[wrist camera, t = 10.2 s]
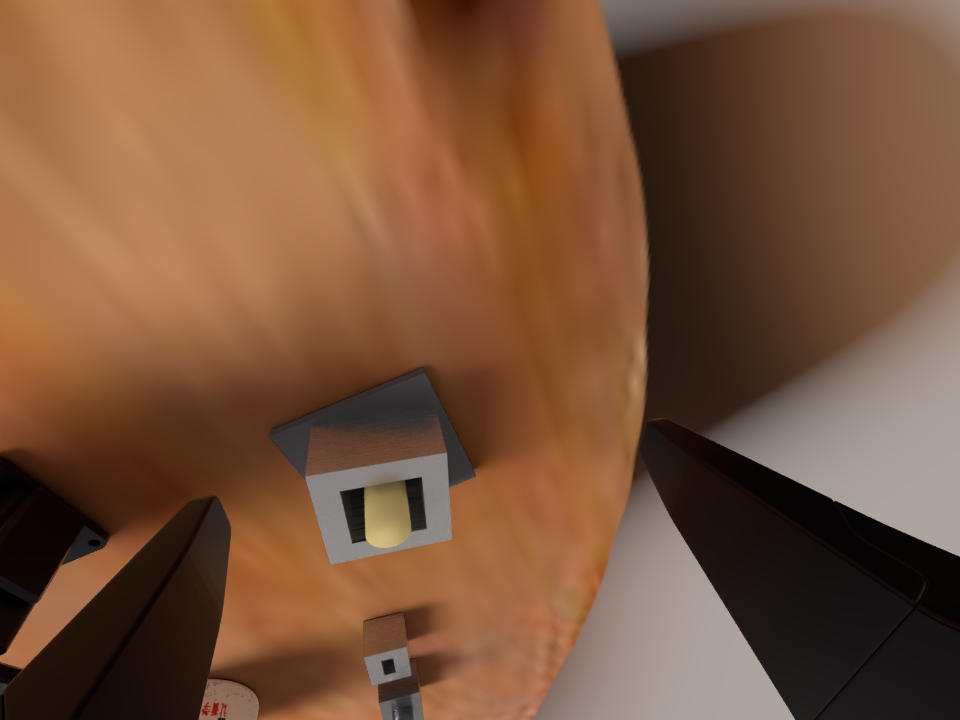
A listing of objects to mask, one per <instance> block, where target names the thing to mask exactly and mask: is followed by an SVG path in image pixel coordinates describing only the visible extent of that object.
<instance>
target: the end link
mask: <svg viewBox="0 0 960 720" xmlns="http://www.w3.org/2000/svg"><path fill="white" fill-rule="evenodd" d="M305 478H306V482H307V485H308V489H309V492H310V496H311V499H312V502H313V506H314V509H315V513H316V516H317V520H318V523H319V526H320V530H321V533H322V537H323V540H324V544H325V547H326V550H327V554H328V557H329V561H330V564H336V563H341V562H346V561H351V560H355V559H360V558H365V557H370V556H375V555H379V554H384V553H389V552H394V551H399V550H403V549H408V548H413V547H418V546H423V545H427V544H432V543H437V542H442V541H447V540H451V539H452V532H451V515H450V498H449V480H448V463H447V451H446V447H445V443H444V439H443V435H442V432H441V428H440V424H439V420H438V416H437V412H436V408H435V406H429V407H423V408H416V409H409V410H402V411H396V412H389V413H382V414H375V415H369V416H362V417H355V418H348V419H342V420H335V421H328V422H321V423H315V424H311V430H310V439H309V447H308V456H307V464H306V473H305ZM401 480H405V483H406V491H407V499H408V506H409V514H410V521H411V529H412V530H411V534H410V536H409V537H408V539H407V540H406V541H404V542H403V543H401V544H399V545H397V546H394V547H389V548H379V547H375V546H373V545H371V544H370V543H369V542H368V541H367V540H366V535H365V501H364V487H368V486H373V485H379V484H384V483H390V482H396V481H401Z"/></svg>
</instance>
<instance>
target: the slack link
mask: <svg viewBox="0 0 960 720" xmlns="http://www.w3.org/2000/svg"><path fill="white" fill-rule="evenodd" d="M363 638H364V660H365V663H366V667H367V671H368V674H369V678H370V681H371V685H372V686H374V685H378V684H382V683H385V682H389V681H393V680H397V679H401V678H404V677H408V676H411V666H410V656H409V646H408V638H407V632H406V626H405V620H404V614H403V612H402V613H398V614H393V615H389V616H385V617H381V618H376V619H372V620H368V621H364V622H363Z"/></svg>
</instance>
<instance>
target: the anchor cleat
mask: <svg viewBox="0 0 960 720" xmlns="http://www.w3.org/2000/svg"><path fill="white" fill-rule="evenodd" d="M410 666H411V676H408V677H404V678H401V679H397V680H393V681H389V682H385V683H382V684H378V694H379V705H380V709H381V713H382V716H383V720H424V716H423V707H422V698H421V689H420V683H419V676H418V670H417V664H416V659H412V660H410Z"/></svg>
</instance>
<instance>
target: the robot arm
mask: <svg viewBox="0 0 960 720" xmlns="http://www.w3.org/2000/svg"><path fill="white" fill-rule="evenodd" d="M640 454H641V458H642V460H643V462H644V464H645V466H646V468H647V470H648V472H649V474H650V476H651V479H652V481H653V483H654V485H655V487H656V489H657V491H658V493H659V495H660V497H661V499H662V501H663V503H664V505H665V507H666V509H667V511H668V513H669V515H670V517H671V518H672V520H673V522H674V524H675V525H676V527H677V529H678V530H679V532H680V533H681V535H682V537H683V538H684V540H685V542H686V543H687V545H688V546H689V548H690V550H691V551H692V553H693V555H694V556H695V558H696V559H697V561H698V563H699V564H700V566H701V567H702V569H703V571H704V572H705V574H706V576H707V577H708V579H709V581H710V582H711V583H712V585H713V587H714V589H715V590H716V592H717V593H718V595H719V597H720V598H721V600H722V601H723V603H724V605H725V606H726V608H727V610H728V611H729V613H730V615H731V616H732V618H733V619H734V621H735V623H736V624H737V626H738V627H739V629H740V631H741V632H742V634H743V636H744V637H745V639H746V641H747V642H748V644H749V645H750V647H751V649H752V650H753V652H754V653H755V655H756V657H757V658H758V660H759V661H760V663H761V665H762V666H763V668H764V670H765V671H766V673H767V675H768V676H769V678H770V679H771V681H772V683H773V684H774V686H775V688H776V689H777V691H778V692H779V694H780V696H781V697H782V699H783V701H784V702H785V704H786V705H787V707H788V708H789V710H790V712H791V713H792V715H793V717H794V718H795V720H960V557H959V556H957V555H954V554H952V553H950V552H947V551H945V550H943V549H940V548H938V547H936V546H933V545H931V544H929V543H926V542H924V541H922V540H919V539H917V538H915V537H913V536H910V535H908V534H906V533H903V532H901V531H899V530H897V529H894V528H892V527H890V526H888V525H885V524H883V523H881V522H879V521H877V520H875V519H873V518H870V517H868V516H866V515H864V514H862V513H860V512H858V511H856V510H854V509H852V508H849V507H847V506H846V505H843V504H841V503H839V502H837V501H834V502H833V500H832V499H831V498H829V497H827V496H825V495H823V494H821V493H819V492H816V491H814V490H812V489H810V488H808V487H806V486H804V485H802V484H800V483H798V482H796V481H794V480H792V479H790V478H788V477H786V476H784V475H781V474H780V473H777V472H776V471H773V470H771V469H769V468H767V467H765V466H763V465H761V464H759V463H757V462H755V461H753V460H751V459H749V458H747V457H745V456H743V455H740V454H738V453H736V452H734V451H732V450H730V449H728V448H726V447H724V446H722V445H720V444H717V443H716V442H714V441H712V440H709V439H708V438H706V437H704V436H702V435H699V434H697V433H695V432H693V431H691V430H689V429H687V428H685V427H683V426H681V425H679V424H677V423H675V422H673V421H671V420H669V419H666V418H659V419H653V420H649V421H648V422H647V423H646V424H645V427H644V432H643V436H642V440H641V444H640ZM109 538H110V535H109V533H108V532H106V531H105V530H104V529H102V528H101V527H99V526H98V525H97V524H95V523H94V522H92V521H91V520H90V519H88V518H87V517H86V516H84V515H83V514H81V513H80V512H79V511H77V510H76V509H75V508H73V507H72V506H70V505H69V504H68V503H66V502H65V501H63V500H62V499H61V498H59V497H58V496H57V495H55V494H54V493H52V492H51V491H50V490H48V489H47V488H45V487H44V486H43V485H41V484H40V483H39V482H37V481H36V480H34V479H33V478H32V477H30V476H29V475H27V474H26V473H25V472H23V471H22V470H21V469H19V468H18V467H16V466H15V465H14V464H12V463H11V462H9V461H8V460H6V459H3V458H0V655H2V654H4V653H6V652H7V650H8V648H9V647H10V645H11V644H12V642H13V640H14V639H15V637H16V635H17V634H18V632H19V630H20V629H21V627H22V625H23V624H24V622H25V620H26V619H27V617H28V615H29V614H30V612H31V610H32V609H33V607H34V605H35V604H36V603H37V602H38V601H39V600H40V599H41V598H42V596H43V594H44V593H45V591H46V589H47V588H48V586H49V584H50V583H51V581H52V579H53V578H54V576H55V574H56V573H57V571H58V569H59V568H60V566H61V565H64V564H66V563H68V562H71V561H73V560H76V559H78V558H80V557H83V556H85V555H88V554H90V553H92V552H95V551H97V550H100V549H102V548H104V547H105V546H106V544H107V542H108V540H109ZM230 540H231V527H230V523H229V520H228V518H227V516H226V514H225V511H224V509H223V507H222V505H221V502H220V500H219V499H218V497H217V496H215V495H209V496H203V497H198V498H193V499H191V500H190V501H188V502H187V503H186V504H185V505H184V506H183V507H182V508H181V509H180V510H179V511H178V512H177V513H176V514H175V515H174V516H173V517H172V518H171V519H170V520H169V521H168V523H167V524H166V525H165V526H164V527H163V528H162V529H161V530H160V531H159V532H158V533H157V534H156V535H155V536H154V537H153V538H152V539H151V540H150V541H149V542H148V543H147V544H146V545H145V546H144V547H143V548H142V549H141V550H140V551H139V552H138V553H137V554H136V555H135V556H134V557H133V558H132V559H131V560H130V561H129V562H128V563H127V564H126V565H125V566H124V567H123V568H122V569H121V570H120V571H119V572H118V573H117V574H116V575H115V576H114V577H113V578H112V579H111V580H110V581H109V582H108V583H107V584H106V586H105V587H104V588H103V589H102V590H101V591H100V592H99V593H98V594H97V595H96V596H95V597H94V598H93V599H92V600H91V601H90V602H89V603H88V604H87V605H86V606H85V607H84V608H83V609H82V610H81V611H80V612H79V613H78V614H77V615H76V616H75V617H74V618H73V619H72V620H71V621H70V622H69V623H68V624H67V625H66V626H65V627H64V628H63V629H62V630H61V631H60V632H59V633H58V634H57V635H56V636H55V637H54V638H53V639H52V640H51V641H50V642H49V643H48V644H47V645H46V646H45V647H44V649H43V650H42V651H41V652H40V653H39V654H38V655H37V656H36V657H35V658H34V659H33V660H32V661H31V662H30V663H29V664H28V665H27V666H26V667H25V668H24V669H22V668H18V667H15V666H12V665H8V664H5V663H2V662H0V720H199V716H200V712H201V707H202V703H203V698H204V694H205V690H206V685H207V681H208V676H209V672H210V667H211V663H212V659H213V654H214V650H215V645H216V641H217V637H218V632H219V628H220V623H221V617H222V611H223V604H224V595H225V586H226V577H227V567H228V558H229V549H230Z"/></svg>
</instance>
